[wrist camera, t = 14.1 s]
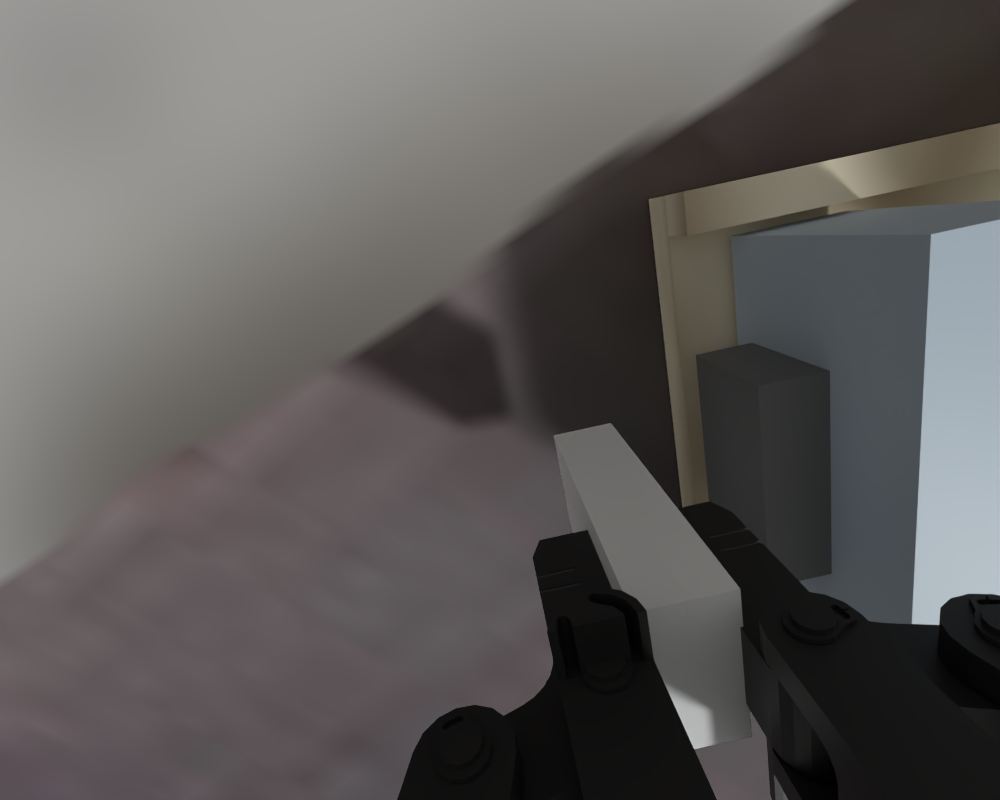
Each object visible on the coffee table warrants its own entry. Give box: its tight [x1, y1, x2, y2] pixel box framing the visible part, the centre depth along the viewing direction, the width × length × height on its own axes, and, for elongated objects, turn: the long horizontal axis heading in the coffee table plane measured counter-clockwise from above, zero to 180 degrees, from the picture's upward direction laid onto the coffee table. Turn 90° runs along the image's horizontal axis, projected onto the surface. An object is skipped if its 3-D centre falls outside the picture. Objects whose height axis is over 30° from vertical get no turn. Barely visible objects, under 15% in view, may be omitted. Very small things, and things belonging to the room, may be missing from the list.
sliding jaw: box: [696, 200, 1000, 625], centre depth 12 cm, size 5×10×6 cm, turn 12°
